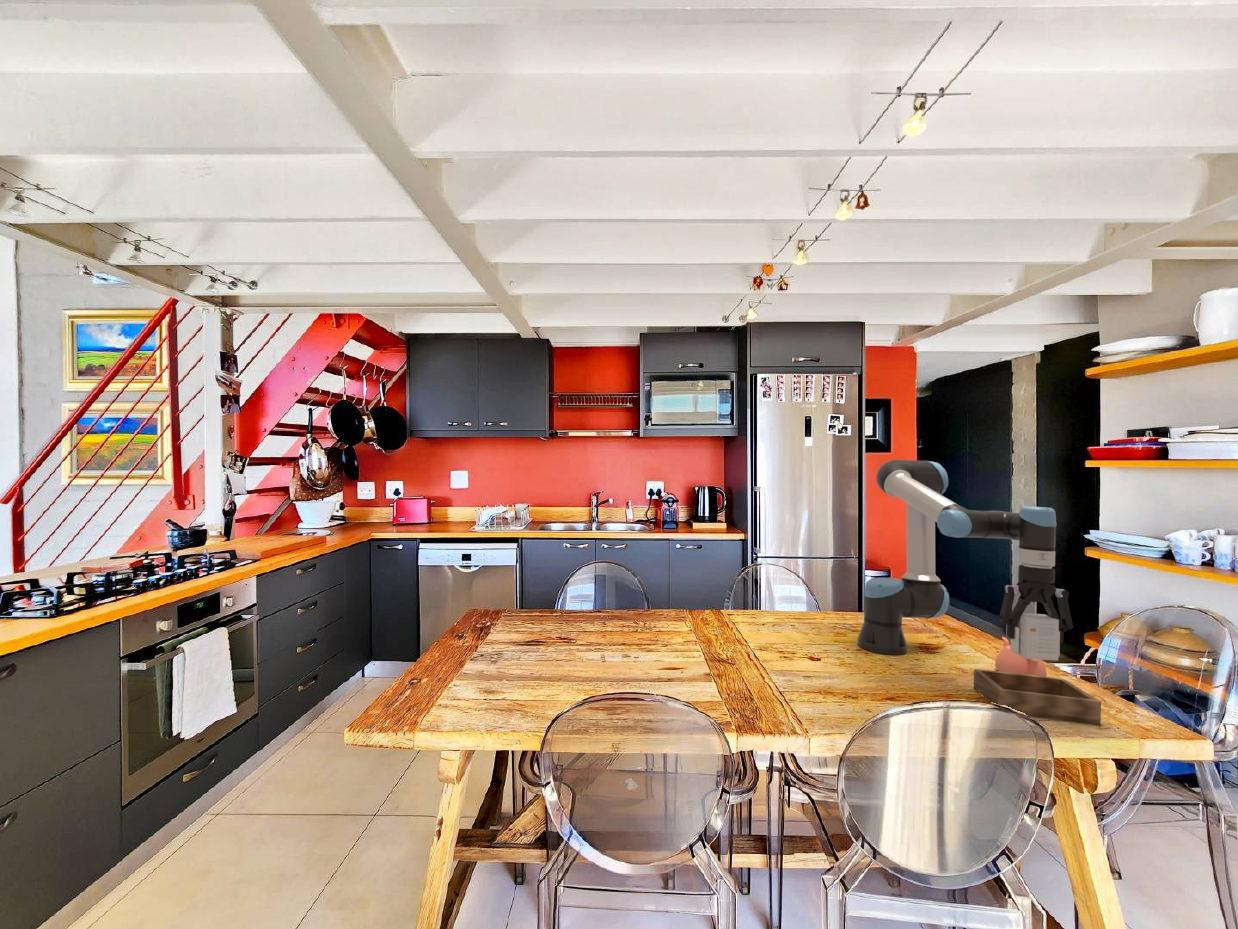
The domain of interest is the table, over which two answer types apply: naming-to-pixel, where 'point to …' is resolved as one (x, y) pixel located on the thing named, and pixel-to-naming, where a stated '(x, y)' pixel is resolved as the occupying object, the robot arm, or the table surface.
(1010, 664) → the teapot
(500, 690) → the table surface
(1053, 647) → the small box
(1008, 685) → the crate
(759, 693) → the table surface
